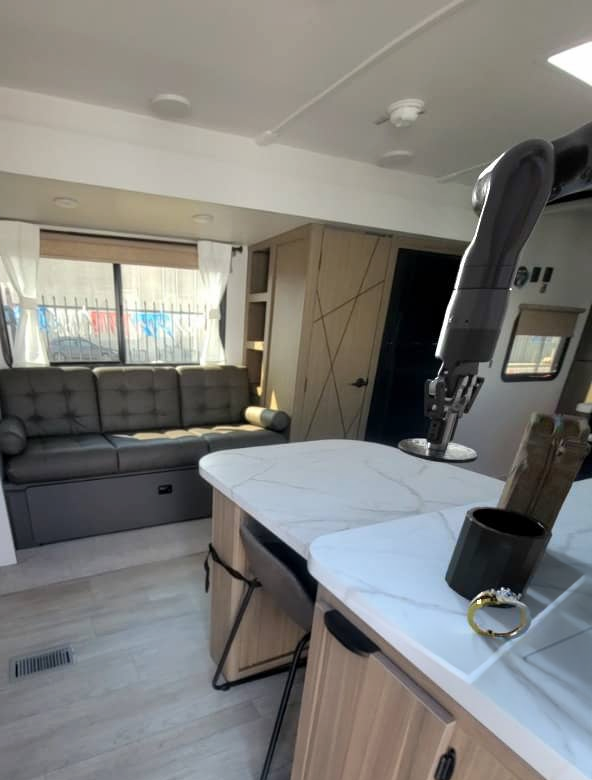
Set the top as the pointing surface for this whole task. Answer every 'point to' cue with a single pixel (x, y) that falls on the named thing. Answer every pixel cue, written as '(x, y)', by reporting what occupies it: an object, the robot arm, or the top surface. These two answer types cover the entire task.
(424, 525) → the top surface
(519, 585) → the tin
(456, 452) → the lid
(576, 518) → the top surface
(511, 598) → the ring
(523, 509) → the weathered brown block
